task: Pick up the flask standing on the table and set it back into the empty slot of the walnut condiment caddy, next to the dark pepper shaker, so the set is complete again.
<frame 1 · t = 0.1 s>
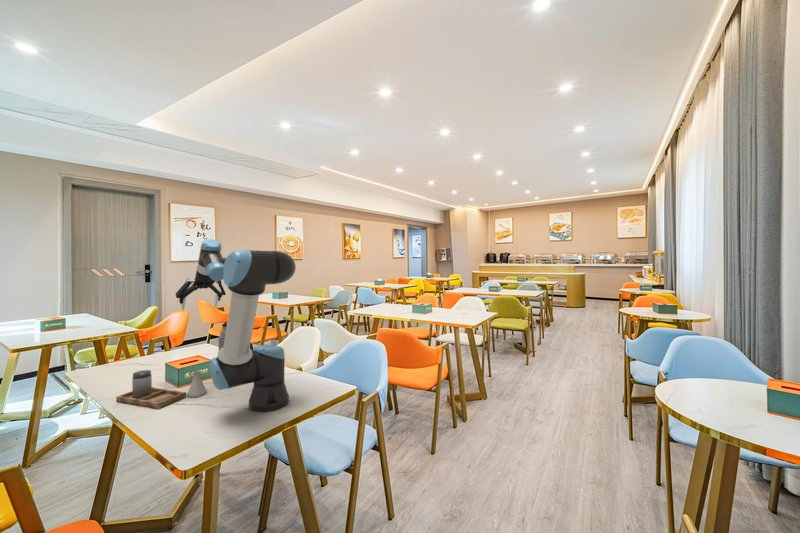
hand: (199, 306, 159), 36 cm above the table, tool tilted 35°, fingers open, 13 cm apart
caddy: (151, 399, 139), on the table
flask: (196, 395, 144), on the table
pepper shaker: (142, 396, 140), point 1 cm above the table, touching caddy
thermos bottle: (228, 383, 158), on the table
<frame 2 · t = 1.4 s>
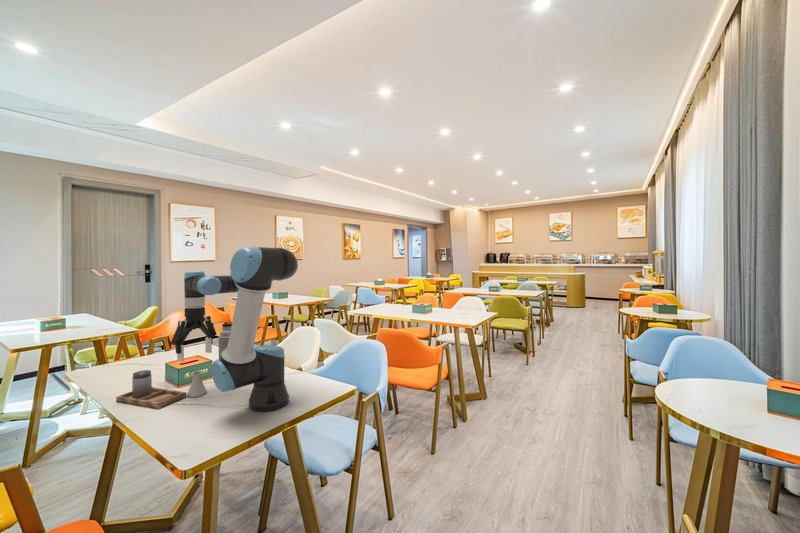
hand: (195, 356, 143), 17 cm above the table, tool pointing down, fingers open, 13 cm apart
nothing on the table moved.
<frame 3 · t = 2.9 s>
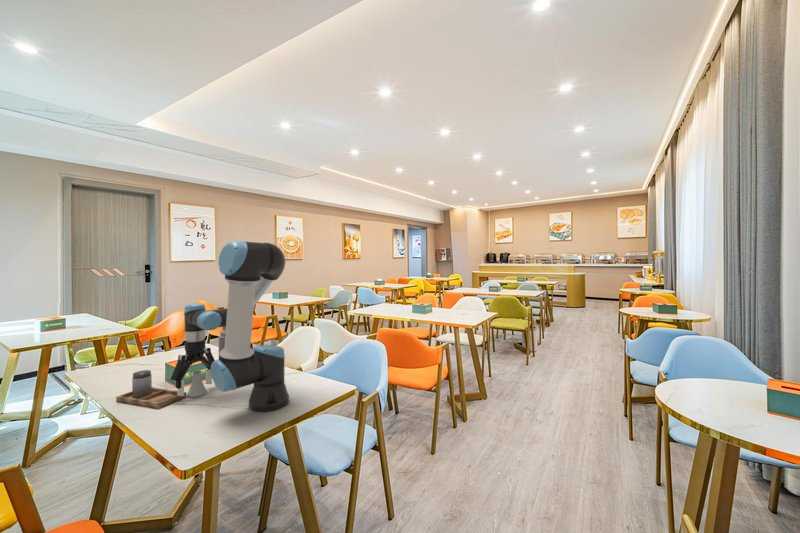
hand: (195, 389, 143), 2 cm above the table, tool pointing down, fingers open, 13 cm apart
nothing on the table moved.
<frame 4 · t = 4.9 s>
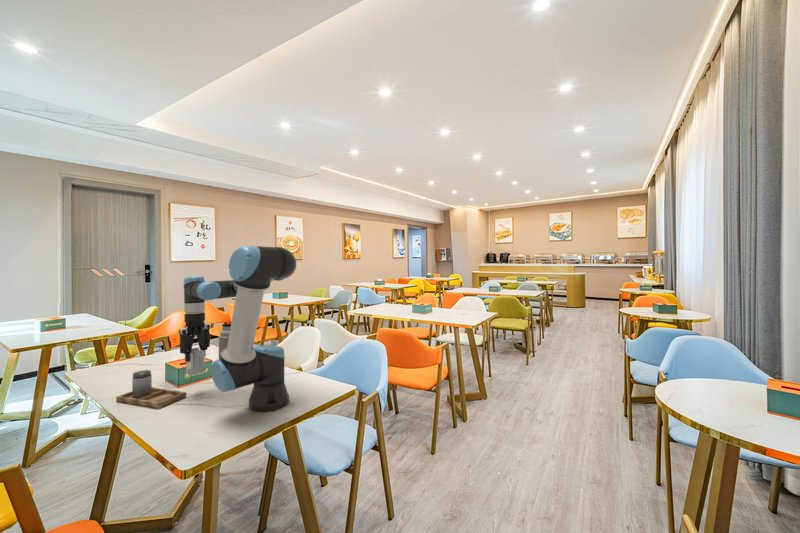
hand: (195, 366, 143), 12 cm above the table, tool pointing down, fingers closed on flask, 5 cm apart
flask: (195, 372, 143), point 10 cm above the table, touching gripper
everything else where it was.
when the fingers open (3 cm above the table, at t = 9.1 s): flask stays where it is, resting on caddy.
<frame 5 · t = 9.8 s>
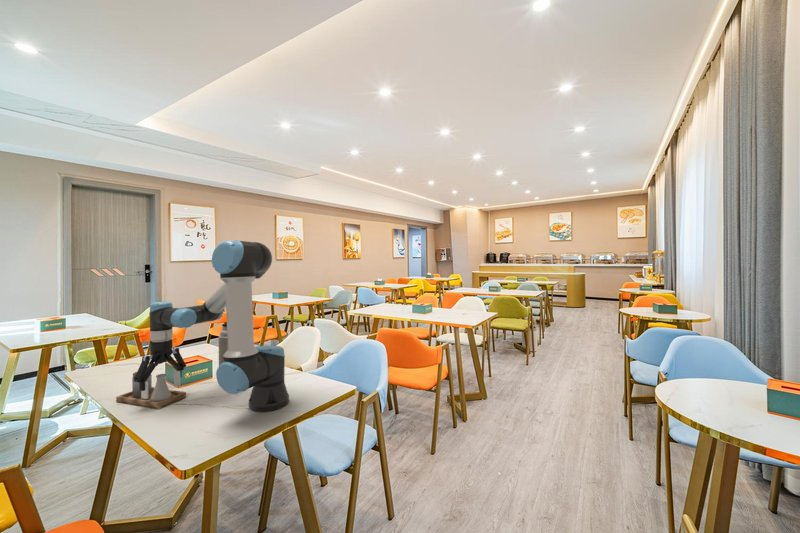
hand: (161, 391, 137), 4 cm above the table, tool pointing down, fingers open, 13 cm apart
flask: (161, 399, 137), point 1 cm above the table, touching caddy
everything else where it was.
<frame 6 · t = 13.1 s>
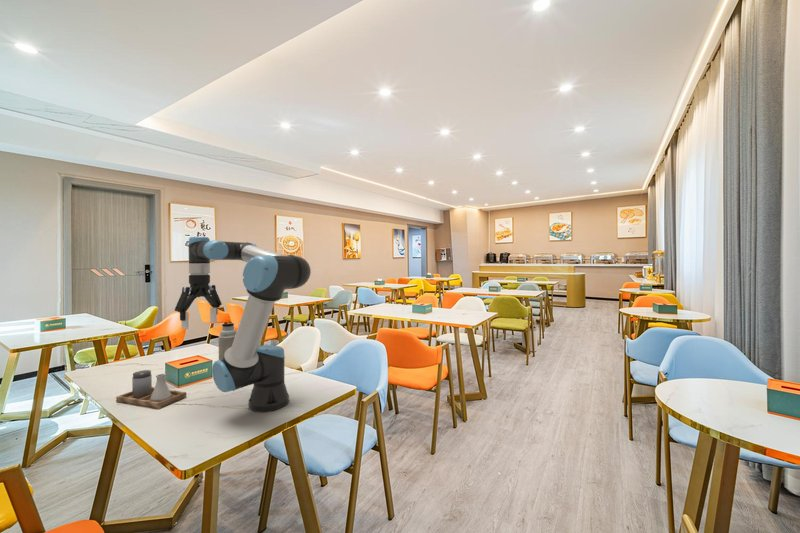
hand: (199, 325, 138), 31 cm above the table, tool pointing down, fingers open, 13 cm apart
nothing on the table moved.
at the end: flask inside the target area on the caddy (0.5 cm from its centre), point 0.6 cm above the caddy's base; flask tilted 0°; pepper shaker moved 0.0 cm from its start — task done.
